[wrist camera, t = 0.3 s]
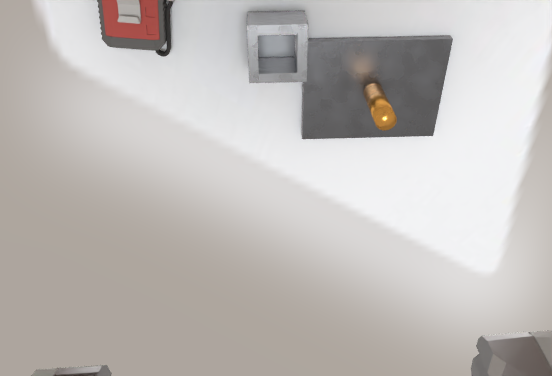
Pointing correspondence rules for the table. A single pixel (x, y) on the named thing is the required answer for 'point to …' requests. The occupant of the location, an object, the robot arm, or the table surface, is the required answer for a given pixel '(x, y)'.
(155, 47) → the walkie-talkie
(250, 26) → the hollow square tube
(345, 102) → the base
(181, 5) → the table surface
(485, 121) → the table surface
